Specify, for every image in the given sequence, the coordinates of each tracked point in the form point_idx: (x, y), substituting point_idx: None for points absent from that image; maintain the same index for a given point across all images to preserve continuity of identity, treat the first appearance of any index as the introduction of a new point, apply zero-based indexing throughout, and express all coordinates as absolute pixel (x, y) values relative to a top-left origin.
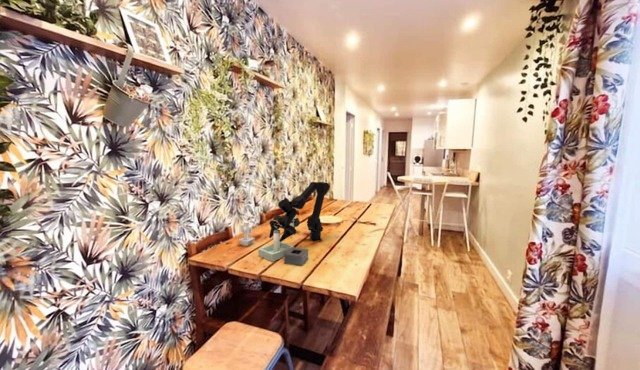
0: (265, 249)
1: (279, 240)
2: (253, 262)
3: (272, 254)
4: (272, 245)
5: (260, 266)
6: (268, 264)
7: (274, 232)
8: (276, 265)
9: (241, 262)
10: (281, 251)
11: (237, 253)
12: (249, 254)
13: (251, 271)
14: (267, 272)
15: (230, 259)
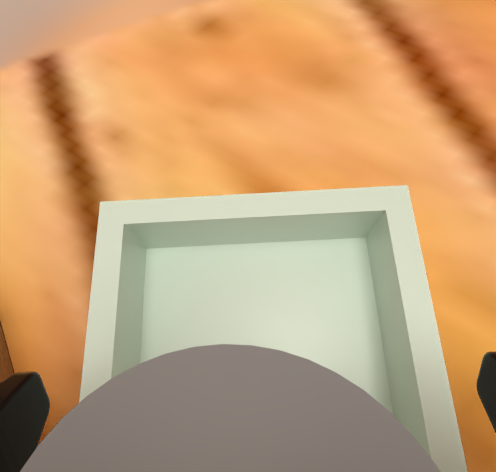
0: (388, 295)
1: (22, 378)
2: (259, 109)
3: (100, 212)
4: (424, 448)
5: (141, 112)
6: (114, 179)
7: (215, 349)
8: (33, 220)
9: (334, 45)
10: (84, 381)
11: None
12: (472, 170)
13: (126, 30)
14: (7, 98)
15: (458, 12)
